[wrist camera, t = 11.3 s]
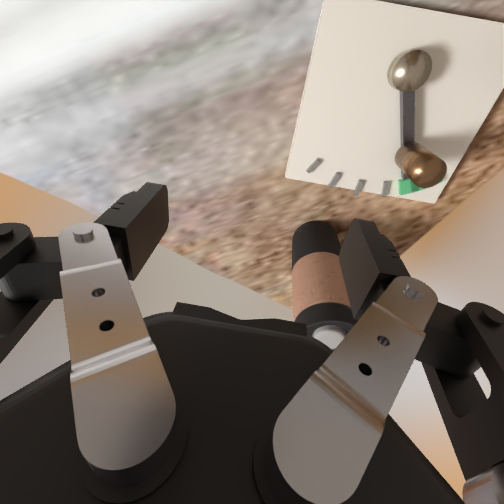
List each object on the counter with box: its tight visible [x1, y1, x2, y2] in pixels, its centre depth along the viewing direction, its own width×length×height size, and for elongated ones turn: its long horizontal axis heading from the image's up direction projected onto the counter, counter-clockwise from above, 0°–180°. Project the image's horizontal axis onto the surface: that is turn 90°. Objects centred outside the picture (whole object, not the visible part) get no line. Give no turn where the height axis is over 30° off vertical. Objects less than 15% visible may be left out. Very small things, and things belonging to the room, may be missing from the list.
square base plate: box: [285, 0, 504, 204], centre depth 33 cm, size 20×21×2 cm
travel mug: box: [292, 221, 358, 351], centre depth 37 cm, size 8×8×20 cm
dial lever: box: [387, 50, 447, 188], centre depth 29 cm, size 14×4×7 cm, turn 18°
